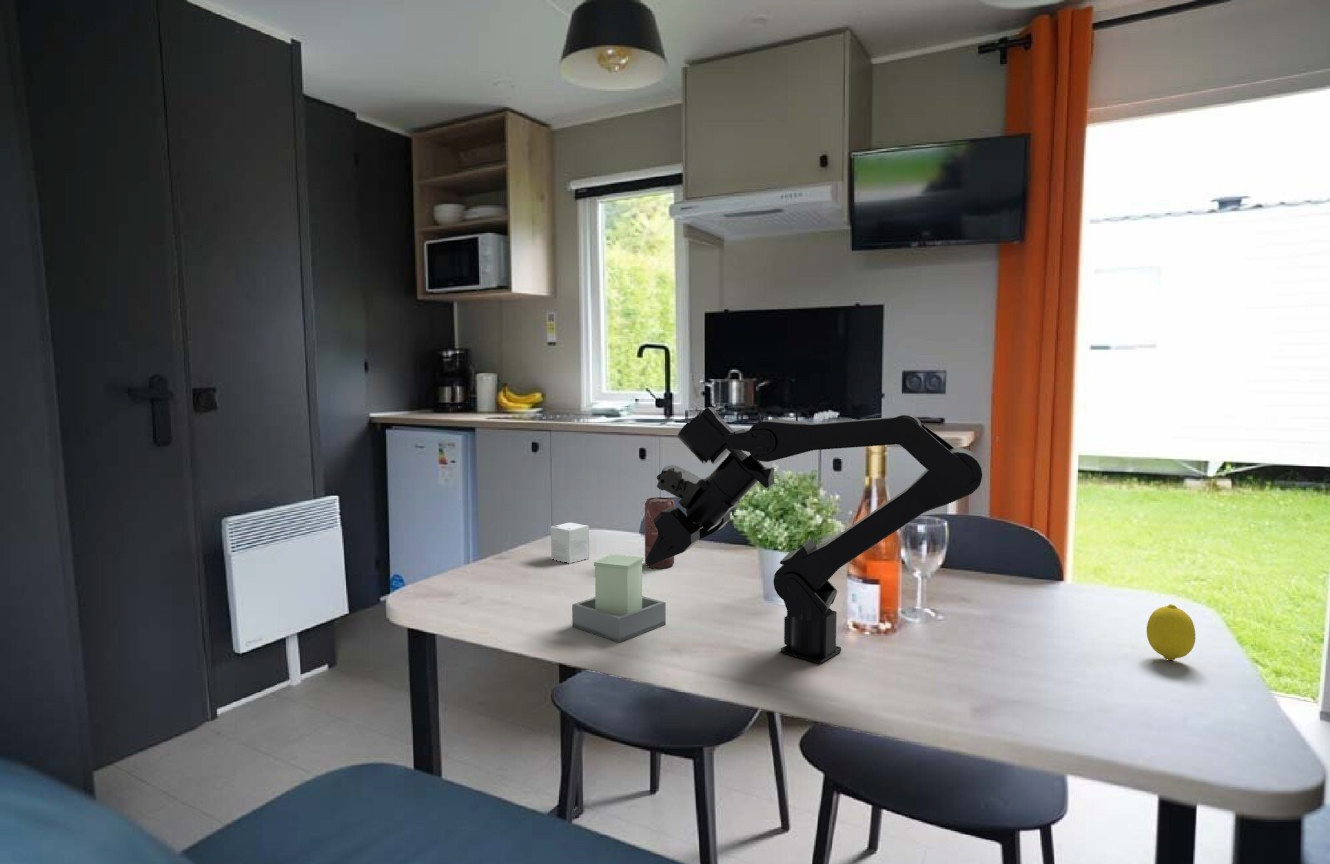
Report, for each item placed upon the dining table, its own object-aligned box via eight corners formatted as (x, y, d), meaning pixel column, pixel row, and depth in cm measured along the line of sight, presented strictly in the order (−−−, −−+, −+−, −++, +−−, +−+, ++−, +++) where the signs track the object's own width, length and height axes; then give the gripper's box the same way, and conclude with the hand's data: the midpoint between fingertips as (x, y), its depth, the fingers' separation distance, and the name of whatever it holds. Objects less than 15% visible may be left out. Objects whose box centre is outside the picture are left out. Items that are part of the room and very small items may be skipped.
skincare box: (590, 559, 156) (589, 525, 156) (568, 564, 152) (568, 529, 151) (571, 554, 160) (571, 521, 160) (550, 559, 156) (549, 525, 155)
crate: (665, 624, 115) (665, 602, 114) (619, 642, 107) (619, 618, 107) (618, 610, 122) (618, 589, 121) (572, 626, 114) (572, 604, 113)
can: (672, 569, 147) (672, 501, 146) (642, 568, 149) (642, 500, 148) (677, 562, 153) (678, 497, 152) (648, 560, 155) (648, 496, 154)
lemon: (1195, 672, 96) (1198, 613, 96) (1145, 663, 99) (1148, 606, 99) (1192, 658, 101) (1195, 602, 100) (1144, 650, 104) (1147, 596, 103)
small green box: (643, 618, 116) (643, 557, 115) (628, 630, 110) (627, 565, 110) (610, 614, 118) (610, 553, 117) (594, 625, 113) (593, 562, 112)
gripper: (709, 441, 117) (649, 507, 122) (664, 454, 100) (597, 529, 105) (758, 491, 114) (695, 555, 119) (720, 513, 97) (648, 587, 102)
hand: (660, 555), depth 112 cm, fingers open, 9 cm apart
